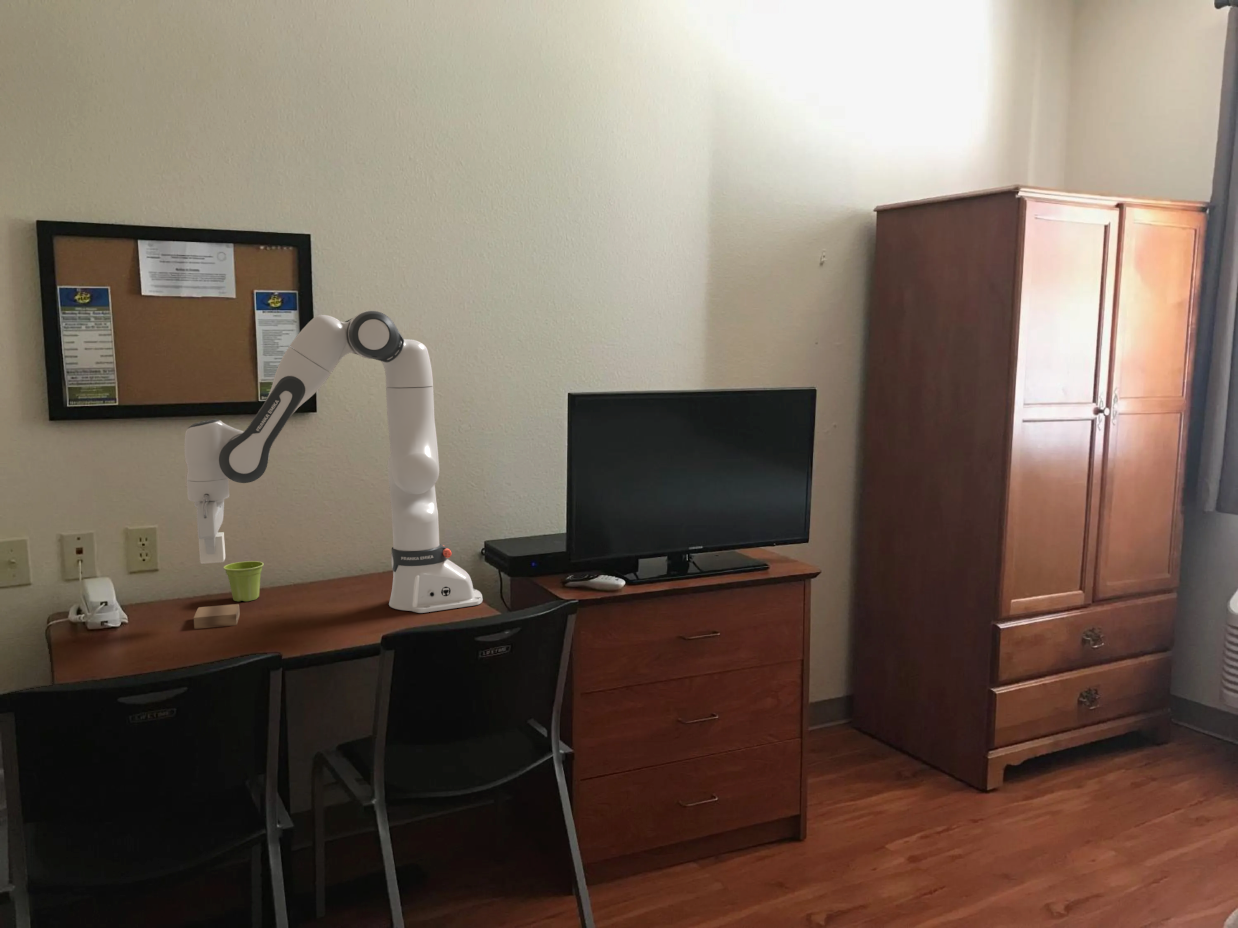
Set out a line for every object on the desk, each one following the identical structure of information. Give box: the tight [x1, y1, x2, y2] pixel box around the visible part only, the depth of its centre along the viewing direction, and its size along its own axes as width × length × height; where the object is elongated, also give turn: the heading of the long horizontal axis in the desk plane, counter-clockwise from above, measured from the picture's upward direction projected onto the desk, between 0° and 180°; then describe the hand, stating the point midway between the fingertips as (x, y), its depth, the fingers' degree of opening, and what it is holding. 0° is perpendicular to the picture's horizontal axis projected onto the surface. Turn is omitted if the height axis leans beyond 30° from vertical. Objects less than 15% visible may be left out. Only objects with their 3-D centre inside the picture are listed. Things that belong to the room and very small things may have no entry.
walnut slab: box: [193, 603, 241, 630], centre depth 235 cm, size 9×9×3 cm
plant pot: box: [223, 560, 264, 603], centre depth 254 cm, size 9×9×9 cm
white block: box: [197, 531, 226, 565], centre depth 233 cm, size 5×5×6 cm
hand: (212, 550), depth 233 cm, fingers closed on white block, 5 cm apart
